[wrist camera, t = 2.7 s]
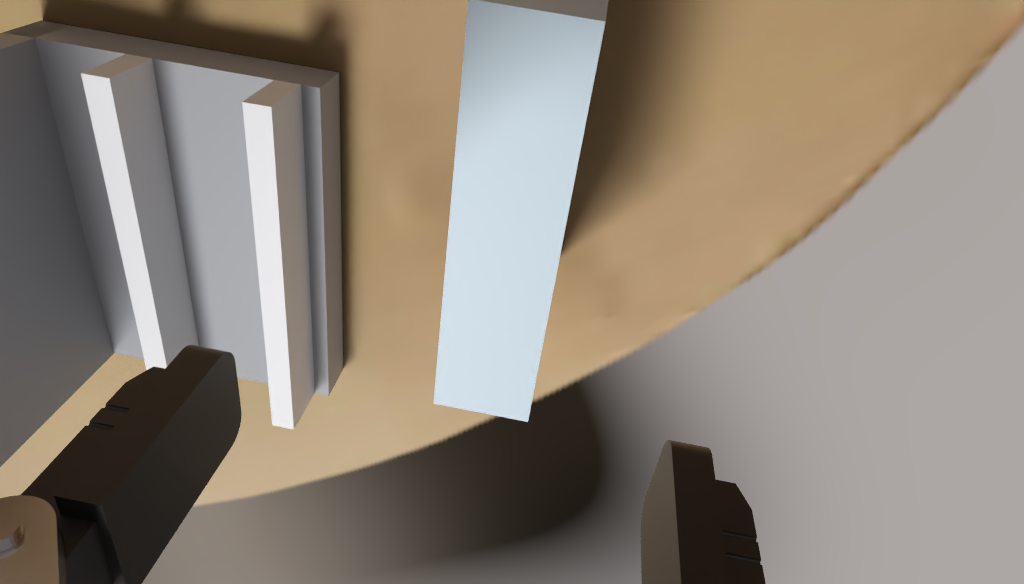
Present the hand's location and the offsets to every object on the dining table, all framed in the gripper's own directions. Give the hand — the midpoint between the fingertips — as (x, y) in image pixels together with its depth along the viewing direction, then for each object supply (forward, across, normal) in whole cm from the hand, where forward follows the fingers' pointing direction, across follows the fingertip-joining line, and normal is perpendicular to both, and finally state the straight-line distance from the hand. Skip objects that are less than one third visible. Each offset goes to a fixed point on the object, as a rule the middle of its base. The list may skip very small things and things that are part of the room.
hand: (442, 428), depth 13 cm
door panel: (+17, 0, 0) cm, 17 cm away
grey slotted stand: (+17, +14, +7) cm, 23 cm away
